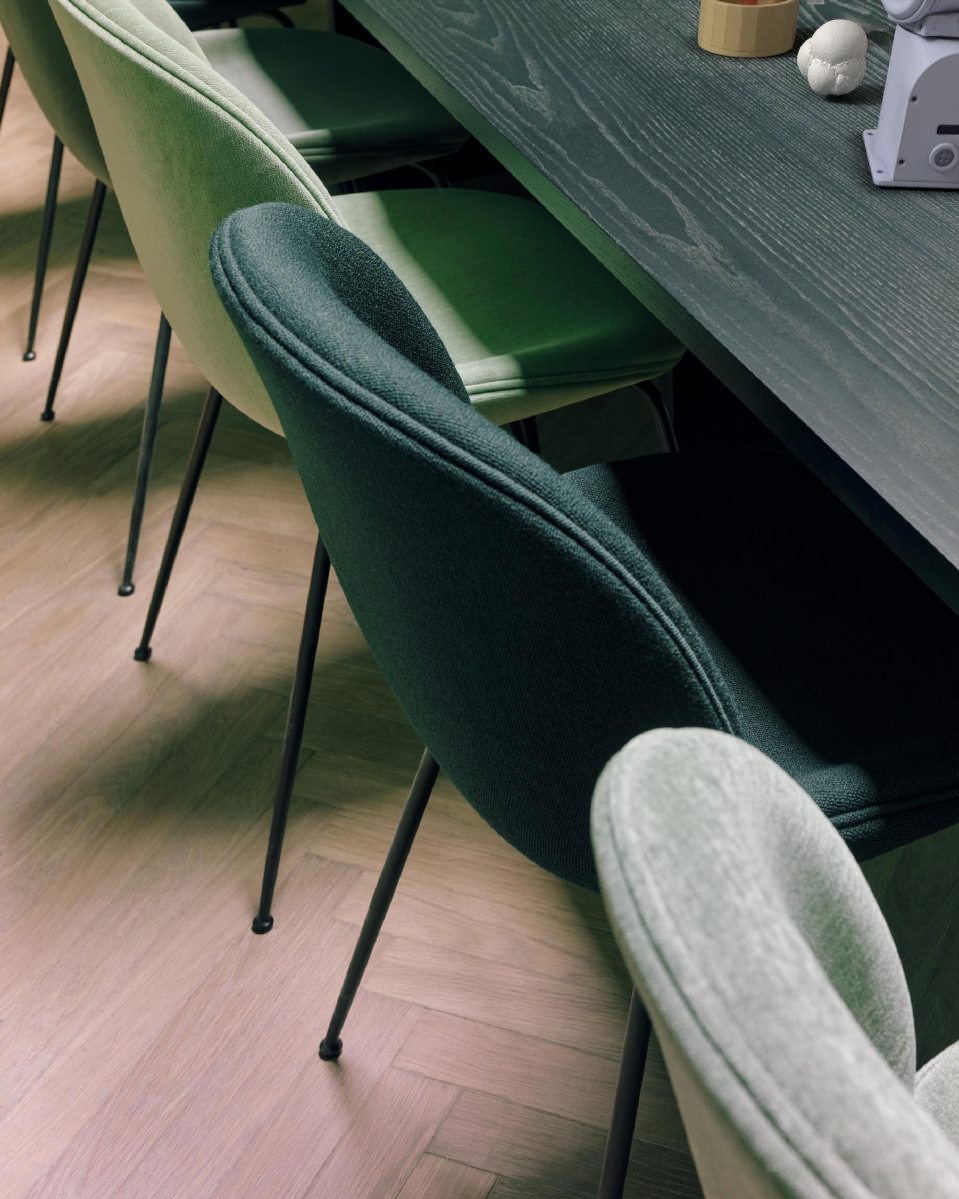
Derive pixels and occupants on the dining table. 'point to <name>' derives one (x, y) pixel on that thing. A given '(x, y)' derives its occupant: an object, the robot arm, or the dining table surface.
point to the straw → (749, 2)
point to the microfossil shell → (834, 58)
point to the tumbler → (747, 27)
